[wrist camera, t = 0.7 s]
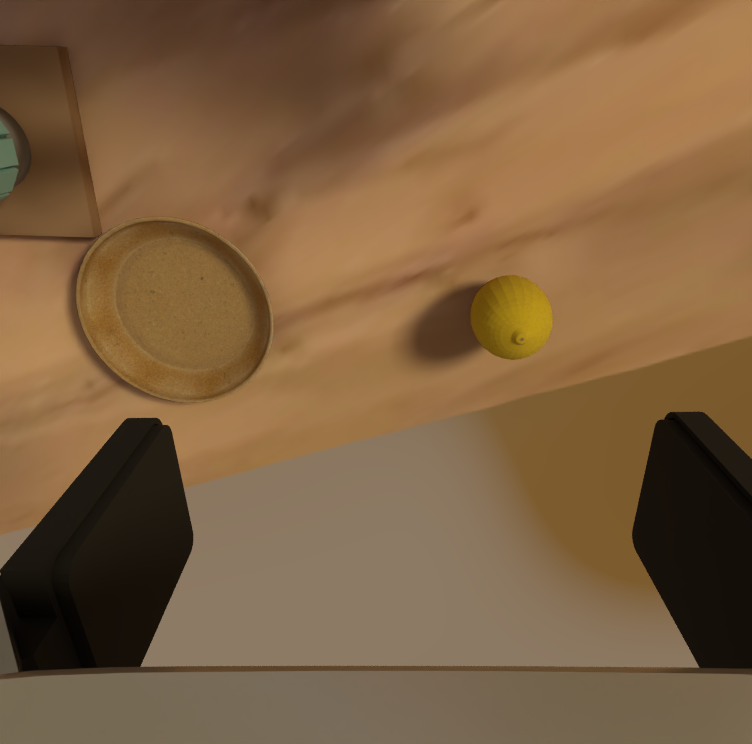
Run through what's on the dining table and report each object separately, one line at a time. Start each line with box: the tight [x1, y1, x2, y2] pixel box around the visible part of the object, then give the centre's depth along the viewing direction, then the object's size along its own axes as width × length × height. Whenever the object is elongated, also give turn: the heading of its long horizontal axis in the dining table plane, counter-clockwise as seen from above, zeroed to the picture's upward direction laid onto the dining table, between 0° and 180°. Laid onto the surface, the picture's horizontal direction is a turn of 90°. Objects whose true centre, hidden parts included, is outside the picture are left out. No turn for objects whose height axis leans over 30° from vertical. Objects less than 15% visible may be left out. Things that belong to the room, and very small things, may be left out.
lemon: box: [470, 276, 553, 360], centre depth 40 cm, size 6×6×8 cm
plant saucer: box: [76, 217, 274, 403], centre depth 44 cm, size 15×15×3 cm
